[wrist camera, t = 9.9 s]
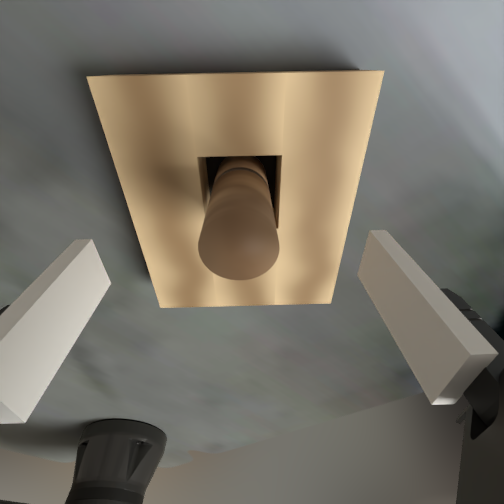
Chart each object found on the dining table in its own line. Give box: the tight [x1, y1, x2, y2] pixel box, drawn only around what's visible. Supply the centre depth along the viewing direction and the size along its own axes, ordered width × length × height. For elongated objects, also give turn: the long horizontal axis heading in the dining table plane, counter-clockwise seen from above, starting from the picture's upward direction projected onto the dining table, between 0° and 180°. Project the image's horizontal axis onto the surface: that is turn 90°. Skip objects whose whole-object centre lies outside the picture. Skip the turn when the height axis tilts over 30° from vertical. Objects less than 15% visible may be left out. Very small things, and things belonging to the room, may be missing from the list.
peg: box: [198, 156, 280, 280], centre depth 17 cm, size 4×4×10 cm
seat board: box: [87, 70, 384, 308], centre depth 21 cm, size 16×18×4 cm
